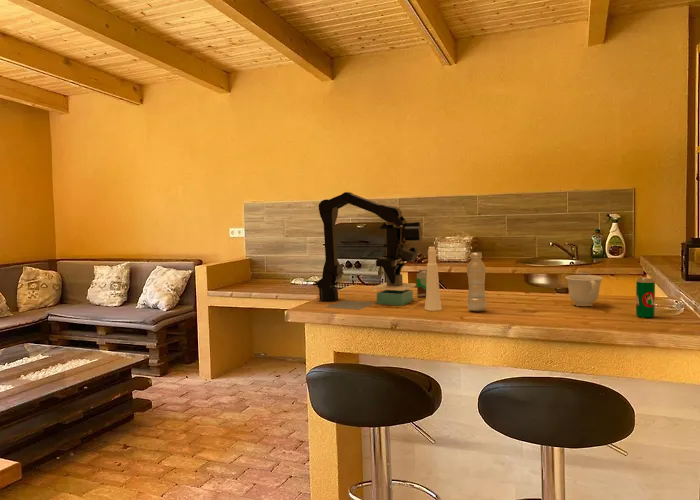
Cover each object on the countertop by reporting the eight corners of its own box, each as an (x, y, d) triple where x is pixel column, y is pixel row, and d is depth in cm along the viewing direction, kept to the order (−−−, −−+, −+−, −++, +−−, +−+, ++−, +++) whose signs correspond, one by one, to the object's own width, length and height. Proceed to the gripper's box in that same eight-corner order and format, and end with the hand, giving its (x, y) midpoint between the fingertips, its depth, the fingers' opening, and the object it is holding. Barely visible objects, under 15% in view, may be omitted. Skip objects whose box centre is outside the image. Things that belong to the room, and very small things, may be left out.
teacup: (576, 311, 175) (576, 281, 174) (559, 302, 190) (559, 275, 189) (613, 310, 175) (613, 280, 174) (593, 302, 190) (594, 274, 189)
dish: (377, 306, 195) (376, 292, 194) (388, 301, 204) (388, 288, 203) (402, 308, 190) (401, 294, 190) (412, 303, 199) (412, 290, 198)
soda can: (637, 314, 167) (638, 276, 166) (655, 316, 164) (656, 277, 163) (634, 317, 164) (634, 278, 163) (652, 319, 160) (653, 280, 159)
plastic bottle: (473, 313, 177) (472, 254, 175) (463, 310, 183) (462, 252, 181) (490, 312, 178) (489, 252, 177) (480, 308, 185) (479, 251, 183)
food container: (433, 298, 206) (432, 273, 206) (417, 298, 208) (416, 273, 207) (434, 293, 218) (434, 269, 218) (419, 293, 220) (418, 269, 219)
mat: (325, 309, 192) (325, 307, 192) (344, 302, 204) (344, 300, 204) (359, 312, 185) (359, 309, 185) (377, 305, 197) (377, 302, 197)
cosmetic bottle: (431, 306, 191) (430, 245, 189) (445, 308, 186) (444, 246, 184) (421, 309, 186) (419, 247, 184) (435, 311, 182) (433, 247, 180)
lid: (372, 289, 194) (372, 276, 194) (387, 284, 204) (386, 271, 204) (403, 290, 188) (402, 277, 188) (416, 285, 198) (415, 273, 198)
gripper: (403, 243, 183) (404, 288, 184) (423, 239, 199) (424, 280, 200) (374, 243, 188) (375, 286, 190) (396, 239, 204) (397, 279, 206)
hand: (394, 283), depth 196 cm, fingers closed on lid, 3 cm apart
